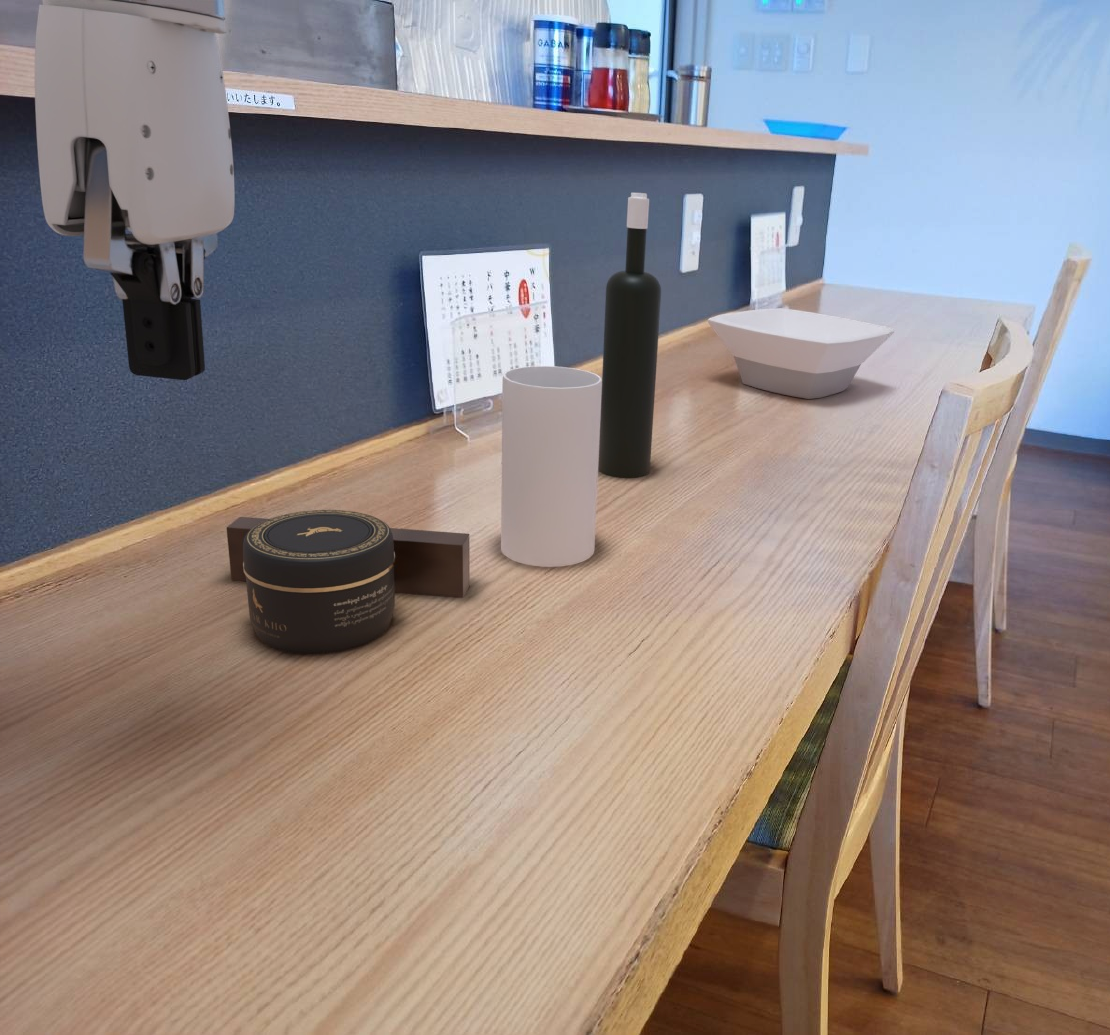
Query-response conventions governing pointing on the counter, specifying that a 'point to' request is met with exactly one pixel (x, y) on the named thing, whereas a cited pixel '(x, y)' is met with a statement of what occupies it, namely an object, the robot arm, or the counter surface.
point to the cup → (549, 464)
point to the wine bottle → (630, 356)
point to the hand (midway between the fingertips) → (168, 373)
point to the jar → (320, 580)
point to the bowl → (797, 349)
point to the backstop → (418, 565)
